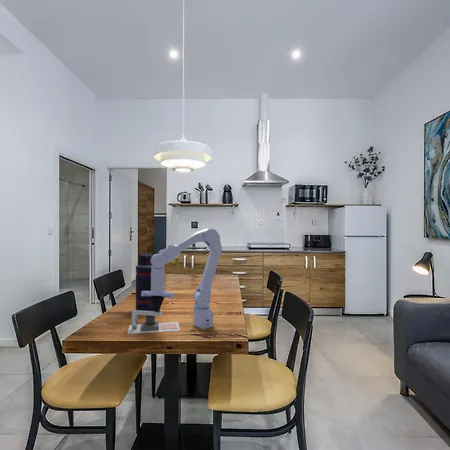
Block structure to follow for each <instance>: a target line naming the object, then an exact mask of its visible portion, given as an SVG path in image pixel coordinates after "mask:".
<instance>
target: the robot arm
mask: <svg viewBox="0 0 450 450" xmlns="http://www.w3.org/2000/svg"><path fill="white" fill-rule="evenodd" d="M196 243H205V244H206V245H207V247H208V249H209V254H208V256H207V260H206V263H205V266H204V269H203V272H202V276H201V280H200V282H199V284H198V286H197V287H196V290H195V291H194V292H193V294H192V299H193V302H194V304H193V321H192V322H193V324H192V325H193V327H196V328H199V329H201V330H204V329H210V328H213V327H214V311H212V309H211V307H210V304H211V301H212V299H211V294H212V284H213V281H214V277H215V274H216V272H217V268H218V266H219V265H218V264H219V262H220V258H221V256H222V255H221V254H222V252H223V247H222V243H221V236H220V234H219V232H218V231H217V230H216V229H214V228H206V227H205V228H203V229H202V230H199V231H196V232H195V233H193V234H191V235H190V236H188V237H187V238H186V239H184V240H183V241H181V242H180V243H178V244H174V243H172V244H168V245H167V247H166V248H164V249H162V250H158V253H156V254H154V255H153V256H152V258H151V260H150V262H151V264H152V265H153V266H152V267H151V270H152V271H151V291H142V292H141V296H152V297H151V298H150V300H151V302H152V304H153V306H154V309H155V311H161V307H162V304H163V302H164V300H165V298H170V299H174V298H175V292H172V291H171V292H170V291H166V290H165V281H166V280H165V275H166V274H165V265H166V263H167V264H168V263H169V262H171V261H173V260H174V259H176V258H177V257H179V256H181V252H182V251H184V250H185V249H188V248H190V246H193V245H195V244H196Z"/></svg>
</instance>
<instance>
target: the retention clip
mask: <svg viewBox="0 0 450 450" xmlns="http://www.w3.org/2000/svg"><path fill="white" fill-rule="evenodd" d="M146 315H150V316H155V317H161V316H162V315H163V311H161V310H160V311H142V310H136V309H133V310H131V325H132V329H137V324H139V322H138V319H139V317H138V316H146Z"/></svg>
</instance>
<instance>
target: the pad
mask: <svg viewBox="0 0 450 450" xmlns="http://www.w3.org/2000/svg"><path fill="white" fill-rule="evenodd" d="M164 329H177V324H176V323H172V324H161V330H164Z"/></svg>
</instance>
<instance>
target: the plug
mask: <svg viewBox="0 0 450 450" xmlns="http://www.w3.org/2000/svg"><path fill="white" fill-rule="evenodd" d="M144 320H145V321H144V322H145V326H155V322H156V316H150V315H145V319H144Z"/></svg>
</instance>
